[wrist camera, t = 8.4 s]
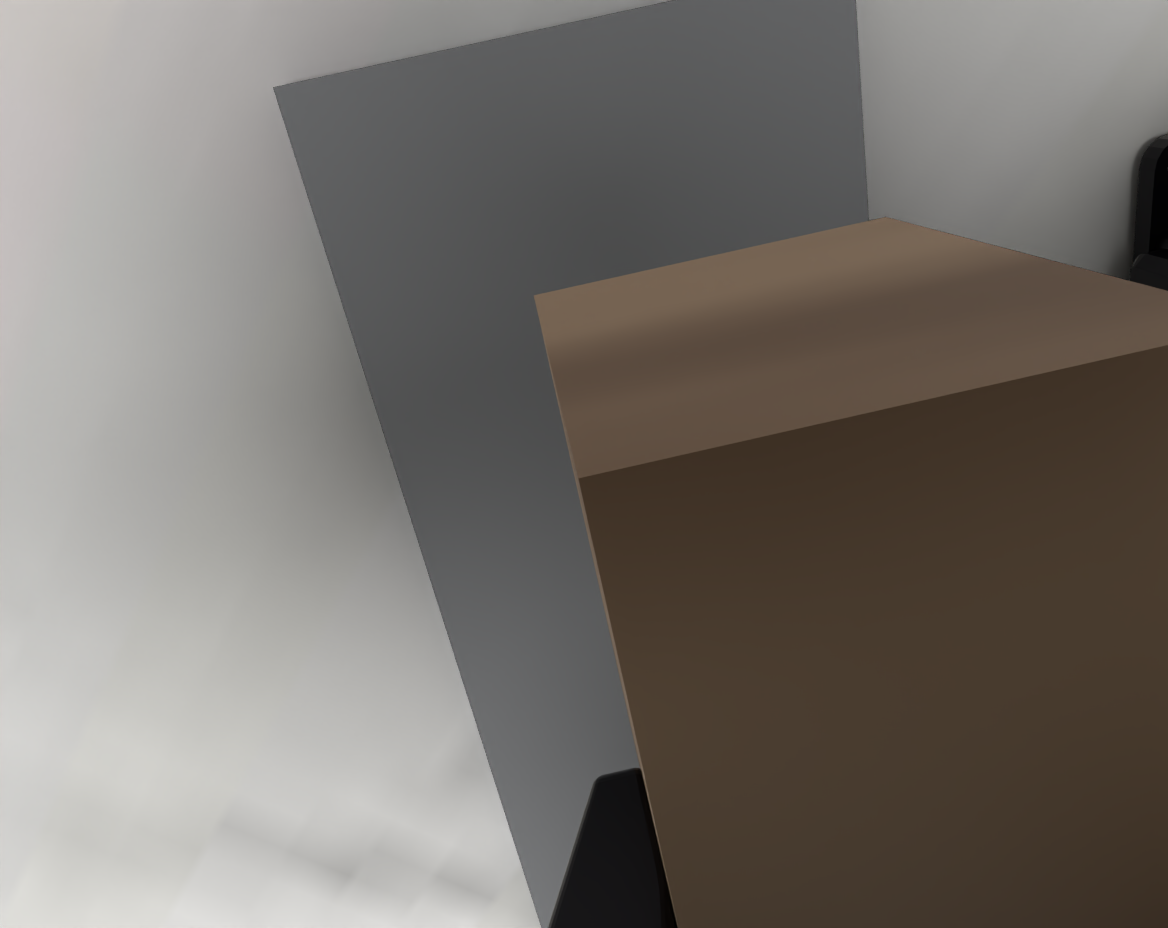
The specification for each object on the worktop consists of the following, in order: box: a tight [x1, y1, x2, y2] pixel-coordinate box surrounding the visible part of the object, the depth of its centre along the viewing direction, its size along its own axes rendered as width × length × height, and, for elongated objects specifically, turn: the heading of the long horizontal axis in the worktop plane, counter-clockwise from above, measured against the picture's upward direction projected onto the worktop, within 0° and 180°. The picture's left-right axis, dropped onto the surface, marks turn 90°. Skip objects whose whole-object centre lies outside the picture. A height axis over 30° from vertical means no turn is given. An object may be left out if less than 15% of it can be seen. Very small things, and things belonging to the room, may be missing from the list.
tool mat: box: [273, 0, 869, 928], centre depth 19 cm, size 9×23×1 cm, turn 11°
